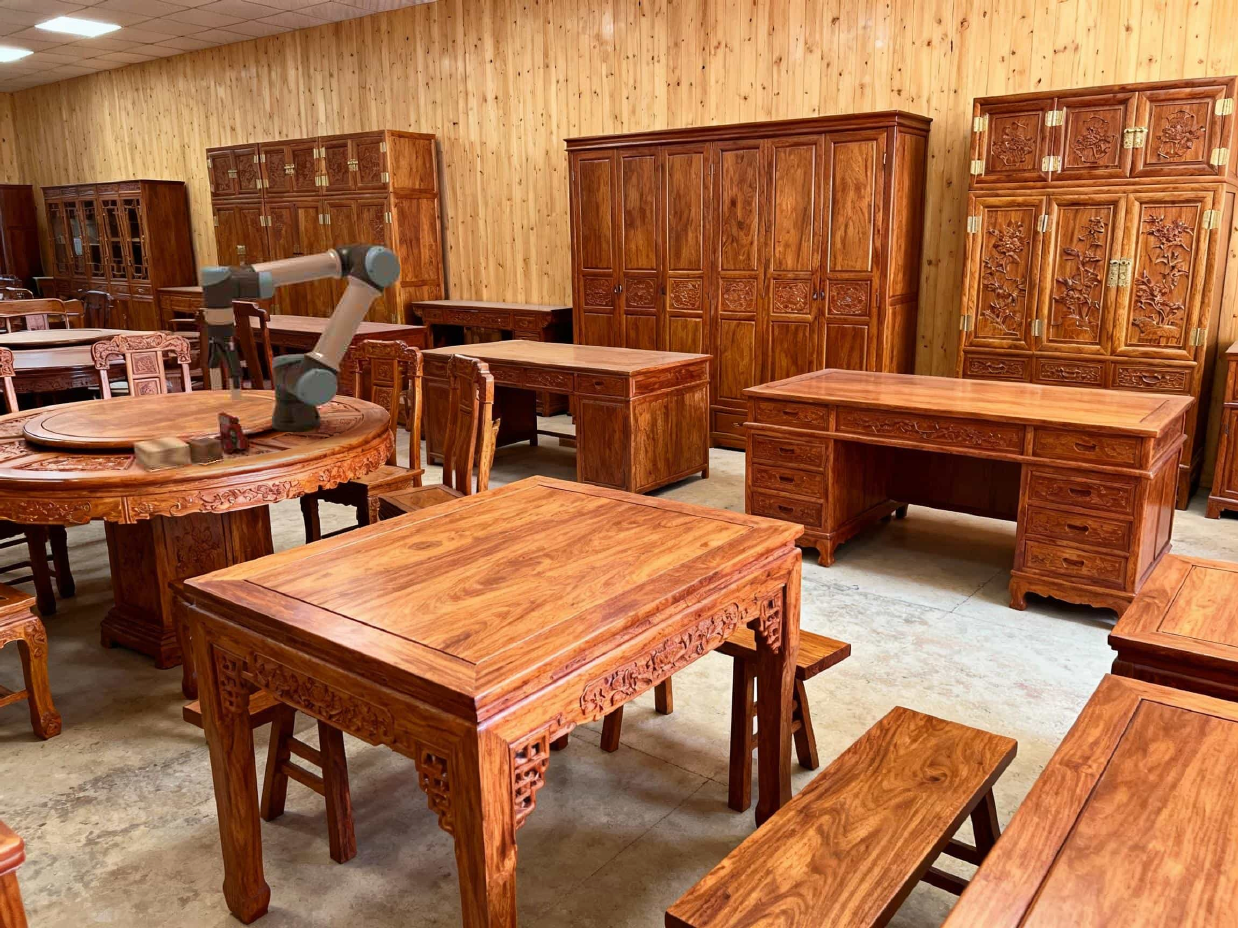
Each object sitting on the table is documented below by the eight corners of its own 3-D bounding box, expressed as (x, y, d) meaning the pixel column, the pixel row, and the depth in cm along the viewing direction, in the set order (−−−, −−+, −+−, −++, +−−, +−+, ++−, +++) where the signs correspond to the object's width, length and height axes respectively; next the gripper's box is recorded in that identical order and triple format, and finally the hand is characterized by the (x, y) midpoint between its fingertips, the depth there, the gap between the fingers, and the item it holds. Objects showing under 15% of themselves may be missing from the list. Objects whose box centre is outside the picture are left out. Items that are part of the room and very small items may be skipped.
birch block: (176, 455, 266) (174, 436, 264) (191, 465, 259) (189, 445, 257) (136, 463, 259) (133, 443, 257) (150, 473, 251) (147, 452, 249)
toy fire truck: (231, 456, 267) (228, 422, 263) (211, 447, 274) (208, 413, 271) (254, 451, 271) (251, 418, 268) (234, 442, 279) (230, 409, 276)
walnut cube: (209, 456, 266) (207, 436, 264) (222, 460, 263) (220, 440, 261) (190, 461, 261) (188, 441, 259) (204, 466, 258) (202, 445, 256)
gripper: (189, 316, 266) (196, 388, 273) (224, 330, 250) (231, 405, 257) (215, 314, 271) (221, 384, 278) (251, 327, 255) (258, 401, 262)
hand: (226, 394), depth 267 cm, fingers open, 13 cm apart
